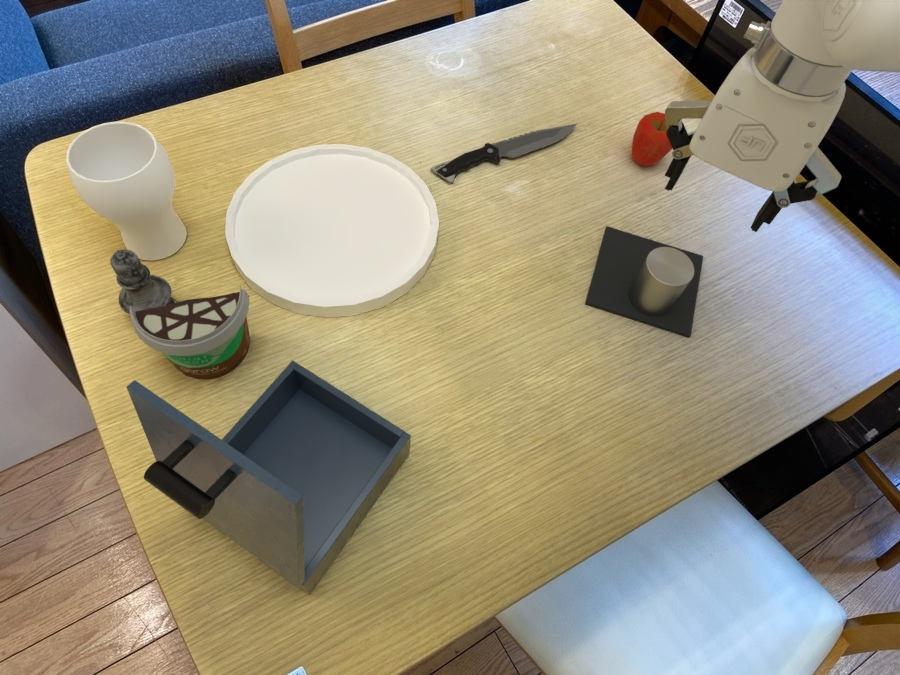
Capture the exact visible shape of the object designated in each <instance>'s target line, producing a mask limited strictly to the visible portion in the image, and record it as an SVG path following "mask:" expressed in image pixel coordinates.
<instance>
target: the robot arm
mask: <svg viewBox="0 0 900 675" xmlns="http://www.w3.org/2000/svg"><path fill="white" fill-rule="evenodd" d="M743 38H744V39H746V40H749V41H750V43H751V44H754V46H752V47H751V48H749V49H748V50H747V51H746V52H745V53H744V55H743V56H742V57H741V58H740V59H739V60H738V62H737V63H736V64H735V65H734V66H733V68H732V69H731V70H730V72H729V73H728V75H727V76H726V78H725V79H724V81H723V82H722V83H721V85H720V86H719V88H718V90H717V92H716V93H715V95H714V97H713V98H712V99H706V100H703V99H702V100H673V101H670V102H669V104H668V105H667V107H666V108H665V109H664V114H665V119H666V126H667V131H666V135H667V137H668V140H669V142H670V144H671V146H672V152H671V155H672V160H671V162H670V164H669V165H668V168H667V170H666V171H665V174H664V176H665V177H667V178H669V179H668V182H667V183H666V185H665V187H664V190H666V191H668V192H669V191H673V189H674V187H675V186H676V184H677V183H678V181H679V179H680V178H681V176H682V174H683V172H684V171H685V168H686V167H687V164H688V163H689V161H690V159H691V157H692V156H695V158H697V159H698V160H700V161H702V162H704V163H706V164H709V165H710V166H712V167H715V168H717V169H718V170H721V171H723V172H725V173H727V174H730V175H732V176H734V177H737V178H739V179H741V180H742V181H745V182H748V183H750V184H752V185H754V186H757V187H759V188H761V189H763V190H766V191H770V192H771V193H770V195H769V196H768V197H767V199H766V201H764V203H763V205H761V208H760V209H759V210H758V212H757V213H756V215H755V216H754V219H753V221H752V223H751V226H750V229H751V231H752V232H754V233H757V232H758V231H759V229H760V228H761V227H762V225H763V224H767V225H771V223H772V222H773V221H774V219H775V218H776V217H777V216H778V214H779V213H780V212H781V210H782V209H785V208H788V207H789V206H791V204H798V203H804V202H809V201H813V200H814V199H815V198H816V197H817V196H821V195H824V194H826V193H828V192H830V191H833V190H834V189H837V188H838V187H839V185H840V182H841V180H842V174H841V173H840V172H839V171H838V170H837V169H836V167H835V166H834V165H833V164H832V162H831V161H830V159H829V158H828V157H827V156H826V154H824V153H823V151H822V150H821V148H819V145H820V143H821V142H822V140H823V139H824V137H825V136H826V134H827V133H828V131H829V129H830V127H831V126H832V124H833V122H834V120H835V119H836V117H837V114H838V113H839V111H840V108H841V106H842V104H843V101H844V99H845V96H846V95H845V94H846V91H847V85H846V83H845V82H846V80H847V79H848V78H849V76H850V75H851V73H852V72H853V70H855V71H861V72H862V71H863V72H883V73H884V72H886V73H900V0H782V2H781V4H780V5H779V8H778V9H777V11H776V13H775V15H774V16H773V17H772V20H767V22H766V23H764V22H761V23H758V22H756V21H754V20H752V21H751V22H750V24H749V25H748V28H747V29H746V31H745V33H744V34H743ZM683 119H686V120H687V119H689V120H691V119H695V120H696V119H701V120H700V121H699V122H698V125H697V127H696V129H695V130H694V131H691V132H689V133H688V130H687V128H686V126H685V124H684V122H683ZM805 166H806V167H807V168H808V169H809V170H810V172H811V173H812V174H813V176H815V179H811V180H804V181H801V182H797V178H798V176H799V175H800V173H801V172H802V171H803V169H804V168H805Z"/></svg>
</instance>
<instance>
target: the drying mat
mask: <svg viewBox="0 0 900 675" xmlns="http://www.w3.org/2000/svg"><path fill="white" fill-rule="evenodd" d="M659 247H671V248H675V249H677V250H679V251H681V252H683V253H684V254H685V255H687V256H688V257H689V259H690V260H691V261H692V263H693V266H694V276H693V278H692V280H691V281H690V282H689V284H688V285H687V287H686V288H685V289H684V291H683V292H682V294H681V295H680V297H679V298H678V299H677V301H676V302H675V304H674V305H673V306H672V308H671V309H670V311H669V312H667V313H666V314H664V315H661V316H649V315H646V314H643V313H641V312H640V311H638V310H637V309H636V308H635V307H634V306H633V305H632V303H631V302H630V299H629V295H628V291H629V288H630V286H631V284H632V282H633V281H634V279H635V277H636V275H637V274H638V272H639V270H640V268H641V267H642V265H643V263H644V261H645V260H646V258H647V256H648V254H649V253H650V252H651V251H652V250H654V249H656V248H659ZM703 260H704V255H702V254H699V253H696V252H693V251H689V250H685V249H682V248H680V247H676V246H672V245H670V244H667V243H663V242H660V241H656V240H653V239H650V238H646V237H643V236H641V235H637V234H633V233H630V232H627V231H624V230H622V229H621V230H620V229H617V228H614V227H611V226H608V225H606V227H605V228H604V232H603V236H602V240H601V244H600V247H599V251H598V255H597V258H596V262H595V266H594V269H593V272H592V277H591V280H590V284H589V289H588V292H587V296H586V300H585V303H584V305H586V306H589V307H591V308H594V309H599V310H601V311H604V312H608V313H610V314H614V315H617V316H620V317H622V318H627V319H629V320H633V321H635V322H639V323H642V324H645V325H648V326H651V327H655V328H657V329H661V330H663V331H667V332H670V333H674V334H676V335H679V336H682V337H685V338H691V336H692V331H693V324H694V317H695V311H696V306H697V305H696V304H697V298H698V293H699V286H700V280H701V273H702V266H703Z"/></svg>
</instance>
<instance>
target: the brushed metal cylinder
mask: <svg viewBox="0 0 900 675" xmlns="http://www.w3.org/2000/svg"><path fill="white" fill-rule="evenodd" d="M693 276H694V266H693V263H692V261H691V260H690V259H689V257H688V256H687V255H685V254H684V253H683V252H681V251H679V250H677V249H675V248H671V247H659V248H656V249H654V250H652V251H651V252H650V253H649V254H648V256H647V258H646V260H645V261H644V263H643V265H642V267H641V268H640V270H639V272H638V274H637V275H636V277H635V279H634V281H633V282H632V284H631V286H630V288H629V291H628V295H629V299H630V302H631V303H632V305H633V306H634V307H635V308H636V309H637V310H638V311H640V312H641V313H643V314H646V315H649V316H661V315H664V314H666V313H667V312H669V311H670V309H671V308H672V306H673V305H674V304H675V302H676V301H677V299H678V298H679V297H680V295H681V294H682V292H683V291H684V289H685V288H686V287H687V285H688V284H689V282H690V281H691V280H692V278H693Z"/></svg>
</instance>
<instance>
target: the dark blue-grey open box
mask: <svg viewBox="0 0 900 675" xmlns="http://www.w3.org/2000/svg"><path fill="white" fill-rule="evenodd" d="M411 436H412V435H411V434H410V433H408V432H406V431H405V430H403V428H400V427H399V426H397V425H396V424H394V423H392V422H391V421H389V420H388V419H386V418H385V417H383V416H381V414H378V413H376V412H375V411H373V410H372V409H370V408H369V407H368V406H365V405H364V404H362V403H361V402H359V401H358V400H356V399H355V398H353V397H351V396H350V395H349V394H347V393H345V392H344V391H342V390H341V389H339V388H337V387H336V386H335V385H333V384H331V383H329V382H328V381H326V380H325V379H323V378H321V377H320V376H318V375H317V374H315V373H314V372H312V371H310V370H309V369H308V368H306V367H304V366H303V365H301V364H300V363H298V362H296V361H295V360H291V361H290V362H289V363H288V365H287V366H286V367H285V368H284V369H283V370H282V371H281V372H280V373H279V375H278V376H277V377H276V378H275V379H274V380H273V382H272V383H271V384H270V385H269V386H268V387H267V388H266V389H265V390H264V392H263V393H262V394H261V395H259V397H258V398H257V399H256V400H255V402H254V403H252V405H251V406H250V407H249V409H248V410H246V412H245V413H244V414H243V415H242V416H241V417H240V418H239V420H238V421H237V422H236V423H235V424H234V425H233V426H232V427H231V428H230V430H229V431H228V432H226V434H225V435H224V437H222V438H221V440H223V441H224V442H225V443H227V444H228V445H230V446H231V447H233V448H234V449H236V450H237V451H238V452H240V453H241V454H243V455H244V456H246V457H247V458H249V459H250V460H252V461H253V462H254V463H256V464H257V465H259V466H260V467H262V468H263V469H265V470H266V471H267V472H269V473H270V474H272V475H273V476H275V477H276V478H278V479H279V480H281V481H282V482H283V483H285V484H286V485H288V486H289V487H291V488H292V489H294V490H295V491H296V492H298V493H299V494H301V495H302V496H303V529H304V573H305V582H304V583H303V585H302V586H301V587H300V588H299V590H302V591H303V592H304V593H306V594H307V595H308V596H311V595H312V594H313V592H314V591H315V589H316V588H317V586H318V585H319V583H320V582H321V581H322V579H323V578H324V577H325V574H327V572H328V571H329V569H330V568H331V566H332V565H333V564H334V562H335V561H336V559H337V558H338V557H339V555H340V554H341V552H342V551H343V550H344V548H345V547H346V546H347V544H348V542H350V540H351V538H352V536H353V535H354V534H355V532H356V531H357V529H358V528H359V527H360V525H361V524H362V523H363V521H364V519H366V517H367V515H368V514H369V512H370V511H371V510H372V508H373V507H374V506H375V504H376V503H377V502H378V500H379V499H380V497H381V495H382V494H383V493H384V491H385V490H386V488H387V487H388V486H389V484H390V483H391V481H392V480H393V479H394V477H395V476H396V475H397V473H398V472H399V470H400V469H401V467H402V465H403V464H404V463H405V461H406V460H407V459H408V457H409V456H410V452H411V438H412V437H411Z"/></svg>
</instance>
